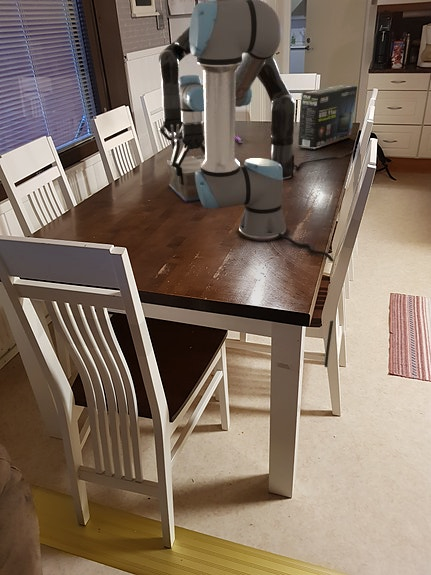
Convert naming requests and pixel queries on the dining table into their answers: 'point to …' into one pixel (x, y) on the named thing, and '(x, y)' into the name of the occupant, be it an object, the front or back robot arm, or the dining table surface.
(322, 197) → the dining table surface
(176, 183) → the small box
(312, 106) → the router box
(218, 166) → the front robot arm
